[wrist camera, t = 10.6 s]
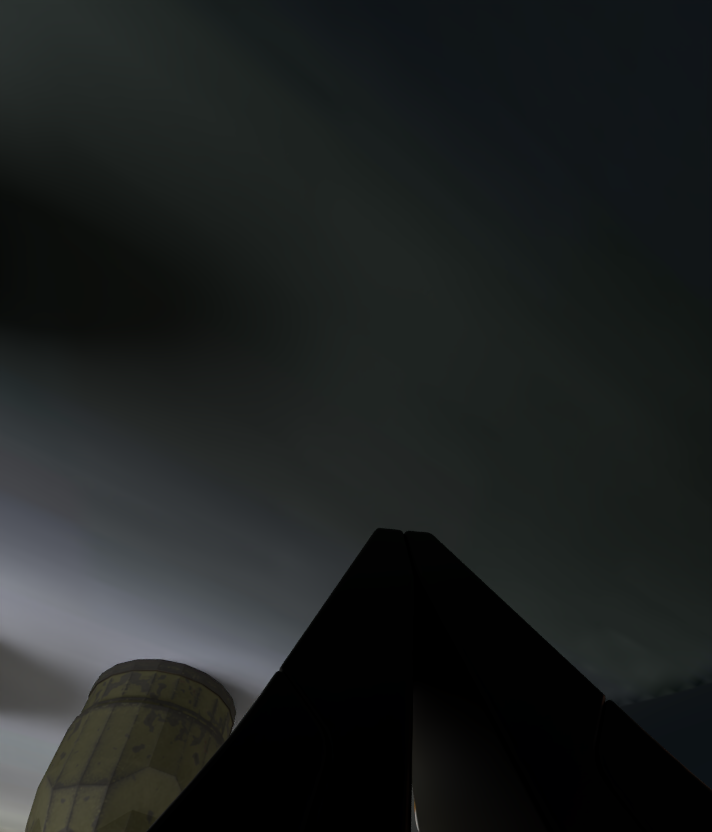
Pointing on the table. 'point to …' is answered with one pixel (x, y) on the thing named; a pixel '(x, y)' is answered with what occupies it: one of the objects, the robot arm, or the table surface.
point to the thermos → (132, 748)
